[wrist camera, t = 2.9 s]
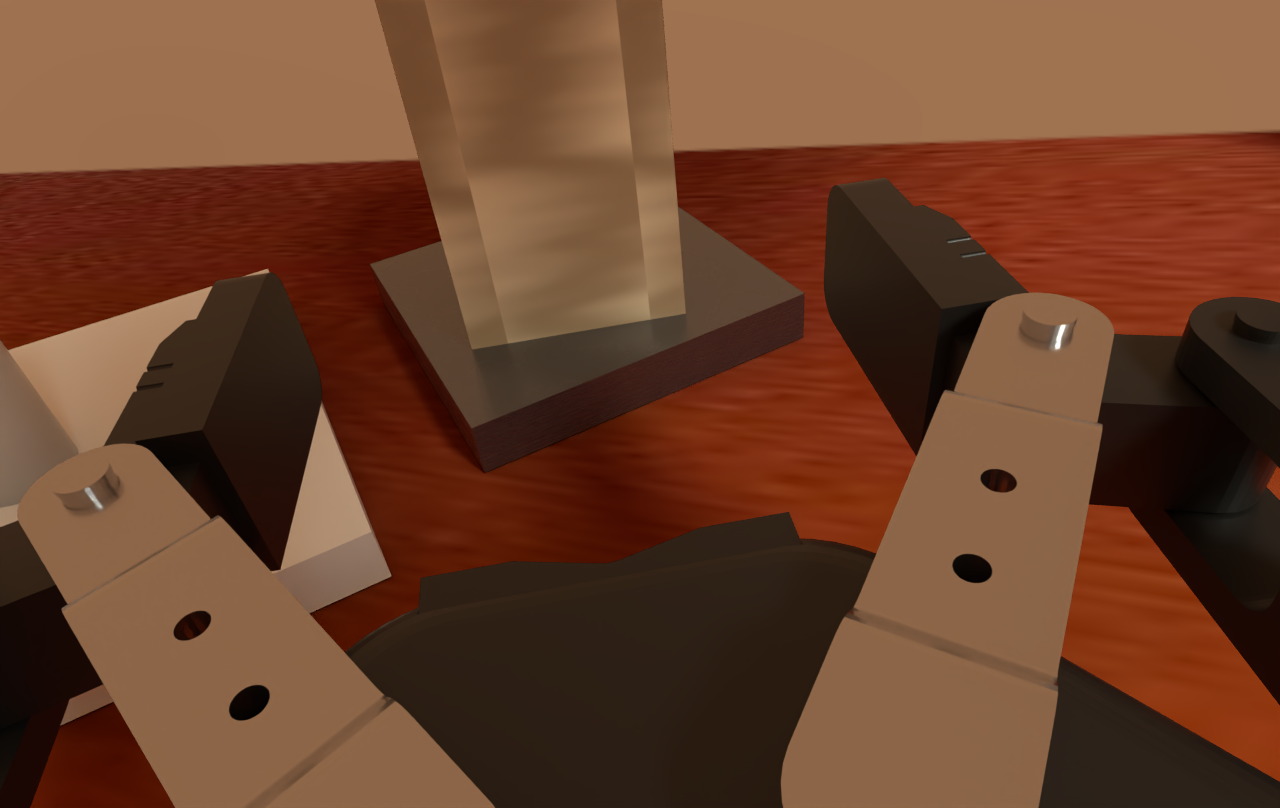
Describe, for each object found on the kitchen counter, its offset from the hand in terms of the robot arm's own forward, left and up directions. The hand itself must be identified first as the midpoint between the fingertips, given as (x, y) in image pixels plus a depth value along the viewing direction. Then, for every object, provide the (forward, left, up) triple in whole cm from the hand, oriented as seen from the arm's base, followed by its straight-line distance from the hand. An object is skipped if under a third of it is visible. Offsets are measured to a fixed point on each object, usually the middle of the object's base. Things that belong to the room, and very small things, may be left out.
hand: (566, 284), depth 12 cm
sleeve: (-4, -11, -6) cm, 13 cm away
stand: (-4, -11, -8) cm, 14 cm away
